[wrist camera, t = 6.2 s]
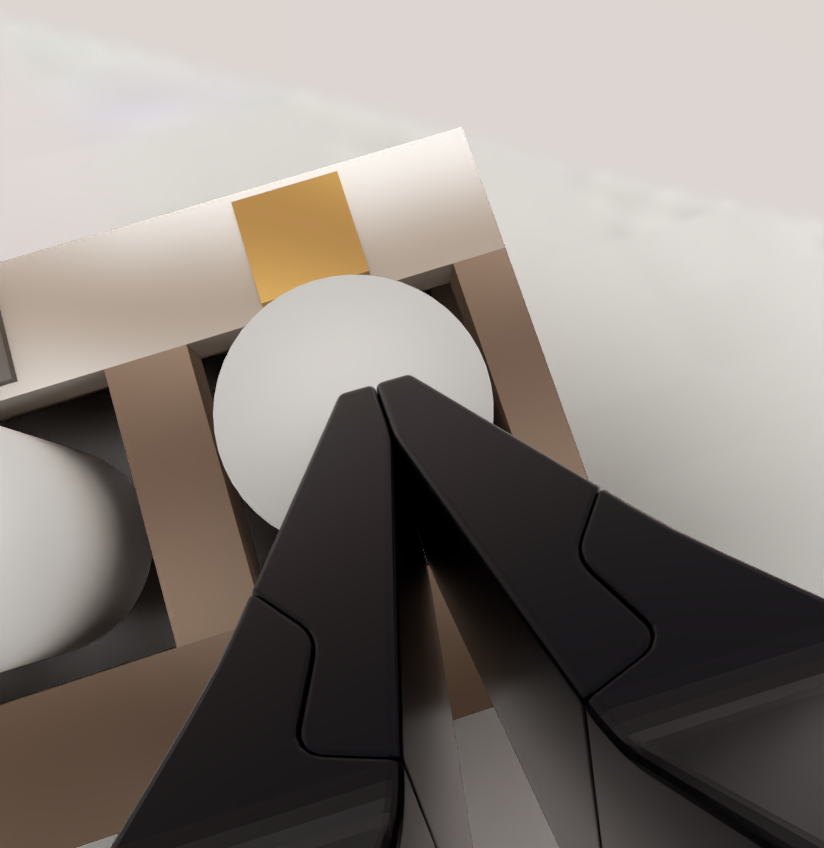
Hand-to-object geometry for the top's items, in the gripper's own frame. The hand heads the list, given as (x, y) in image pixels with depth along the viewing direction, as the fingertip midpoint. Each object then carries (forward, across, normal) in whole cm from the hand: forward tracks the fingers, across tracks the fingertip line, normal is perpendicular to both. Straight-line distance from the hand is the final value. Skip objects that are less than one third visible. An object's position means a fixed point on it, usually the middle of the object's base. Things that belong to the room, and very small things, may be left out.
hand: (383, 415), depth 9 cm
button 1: (+5, 0, +4) cm, 7 cm away
